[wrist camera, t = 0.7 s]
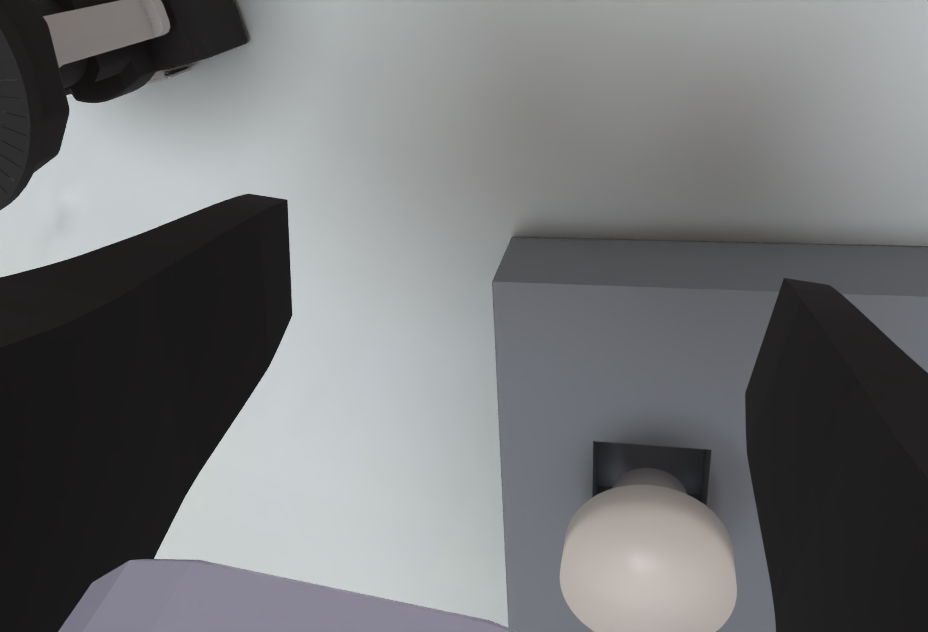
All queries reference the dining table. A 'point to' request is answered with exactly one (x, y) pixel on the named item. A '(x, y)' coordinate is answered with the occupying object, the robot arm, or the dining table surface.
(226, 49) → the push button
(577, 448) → the knob panel
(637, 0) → the dining table surface
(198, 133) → the dining table surface
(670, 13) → the dining table surface
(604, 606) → the knob
